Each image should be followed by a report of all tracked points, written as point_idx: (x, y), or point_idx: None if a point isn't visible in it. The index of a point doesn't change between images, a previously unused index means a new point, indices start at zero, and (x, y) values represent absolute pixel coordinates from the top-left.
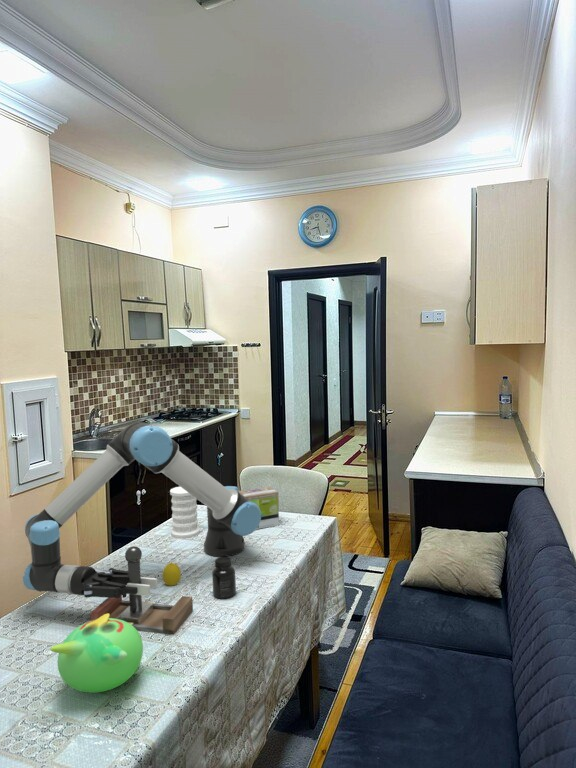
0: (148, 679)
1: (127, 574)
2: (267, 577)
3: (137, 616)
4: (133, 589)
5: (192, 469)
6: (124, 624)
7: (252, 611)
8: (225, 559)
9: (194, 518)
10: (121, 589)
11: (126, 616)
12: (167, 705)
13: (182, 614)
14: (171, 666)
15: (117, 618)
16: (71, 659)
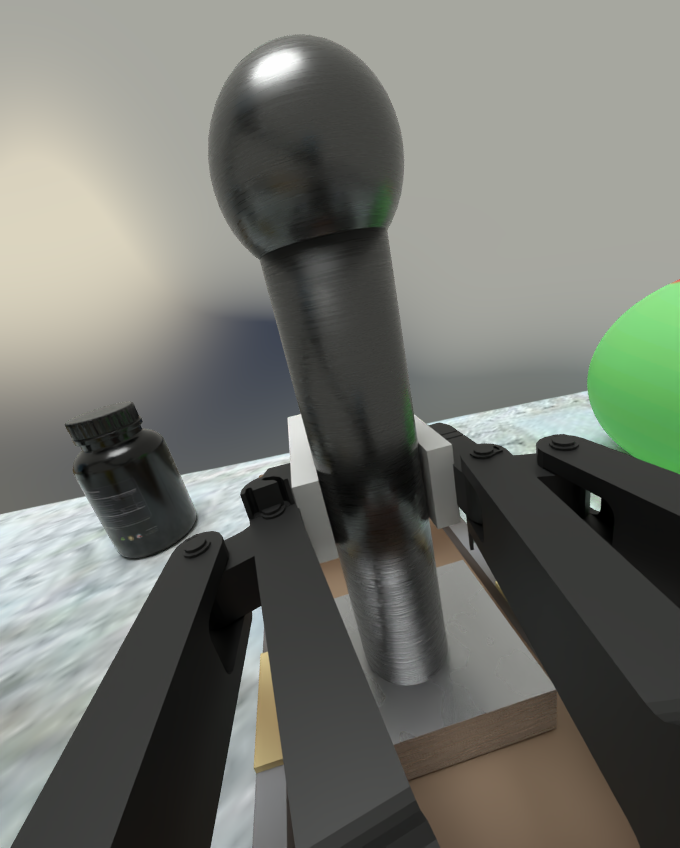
0: None
1: (197, 650)
2: (39, 525)
3: (454, 575)
4: (450, 426)
5: None
6: (665, 286)
7: (234, 469)
8: (100, 410)
9: None
10: (524, 456)
11: (504, 629)
12: (581, 400)
13: None
14: (506, 445)
15: (527, 830)
16: None
